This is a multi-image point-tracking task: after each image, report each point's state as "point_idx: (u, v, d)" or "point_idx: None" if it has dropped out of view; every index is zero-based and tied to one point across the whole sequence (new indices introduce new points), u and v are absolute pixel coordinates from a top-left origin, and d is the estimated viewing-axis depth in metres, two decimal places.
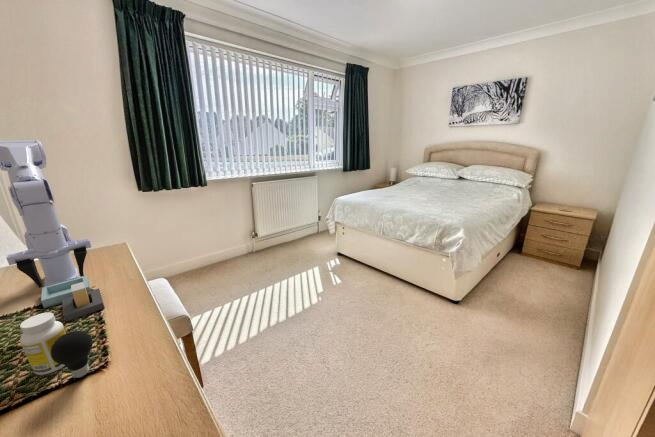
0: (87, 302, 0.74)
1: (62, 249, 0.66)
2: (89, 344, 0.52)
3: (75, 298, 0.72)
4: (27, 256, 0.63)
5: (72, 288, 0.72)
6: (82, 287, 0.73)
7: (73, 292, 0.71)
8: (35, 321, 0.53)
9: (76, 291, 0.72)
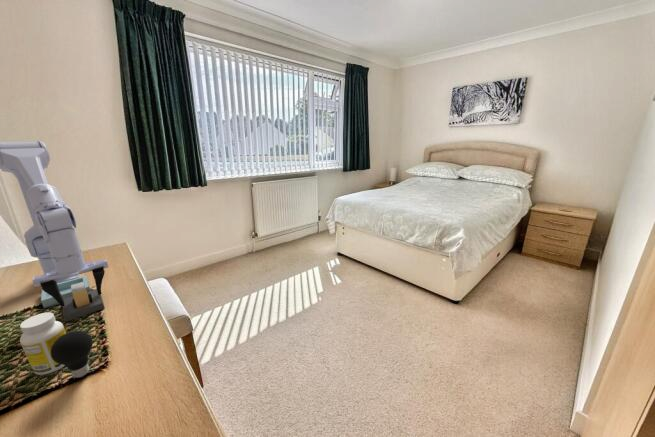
0: (87, 302, 0.74)
1: (82, 270, 0.71)
2: (89, 344, 0.52)
3: (75, 298, 0.72)
4: (51, 278, 0.68)
5: (72, 288, 0.72)
6: (82, 287, 0.73)
7: (73, 292, 0.71)
8: (35, 321, 0.53)
9: (76, 291, 0.72)
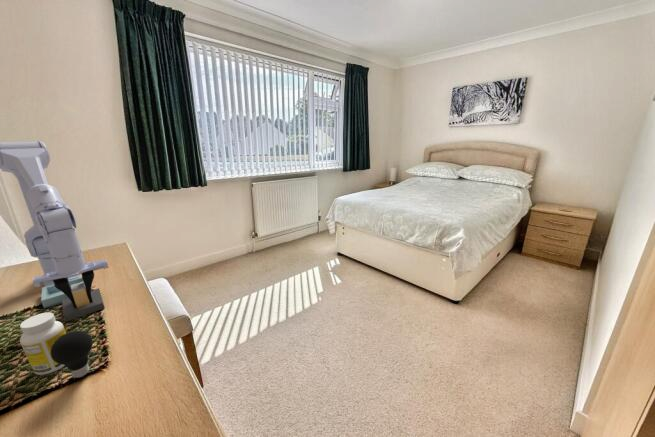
0: (87, 302, 0.74)
1: (82, 271, 0.71)
2: (89, 344, 0.52)
3: (75, 298, 0.72)
4: (51, 278, 0.68)
5: (72, 288, 0.72)
6: (82, 287, 0.73)
7: (73, 292, 0.71)
8: (35, 321, 0.53)
9: (76, 291, 0.72)
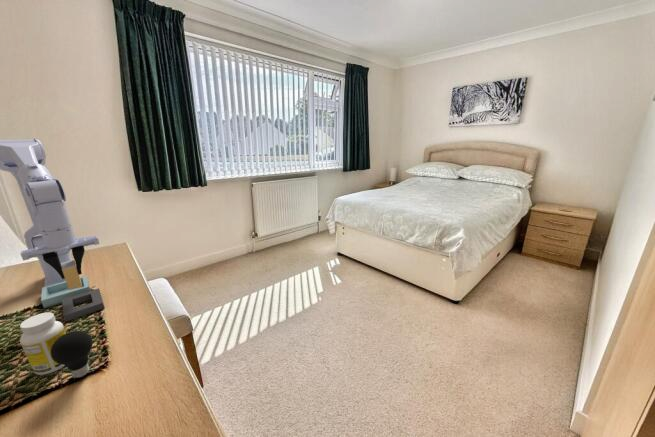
0: (78, 280, 0.72)
1: (72, 245, 0.70)
2: (89, 344, 0.52)
3: (65, 275, 0.70)
4: (40, 252, 0.67)
5: (62, 265, 0.71)
6: (73, 265, 0.71)
7: (63, 269, 0.70)
8: (35, 321, 0.53)
9: (66, 268, 0.70)
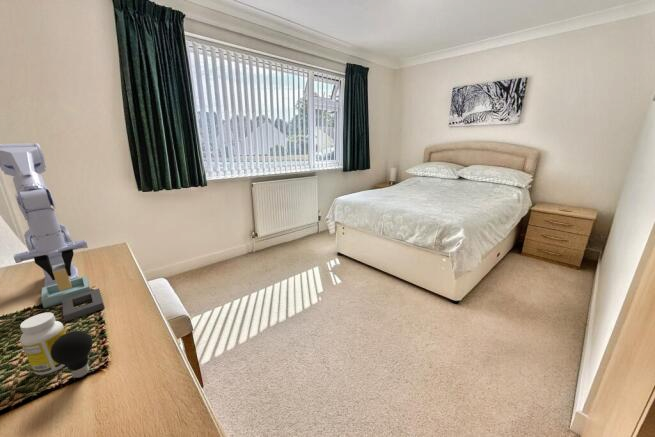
0: (67, 282, 0.78)
1: (62, 249, 0.76)
2: (89, 344, 0.52)
3: (56, 277, 0.76)
4: (31, 255, 0.72)
5: (53, 268, 0.77)
6: (63, 268, 0.77)
7: (54, 272, 0.76)
8: (35, 321, 0.53)
9: (57, 271, 0.76)
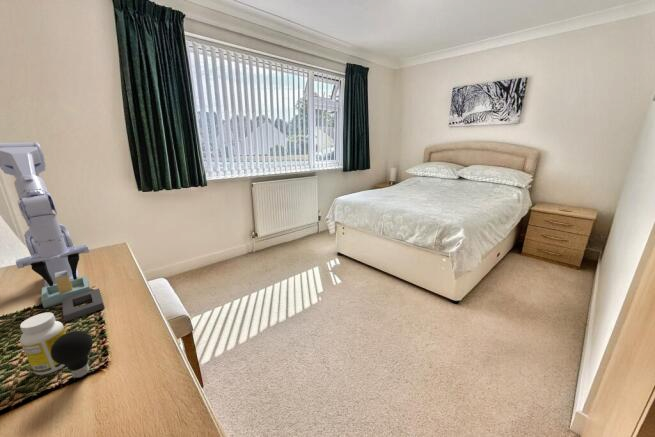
0: (70, 289, 0.79)
1: (63, 254, 0.76)
2: (89, 344, 0.52)
3: (58, 285, 0.77)
4: (33, 260, 0.73)
5: (55, 275, 0.78)
6: (65, 275, 0.78)
7: (56, 279, 0.76)
8: (35, 321, 0.53)
9: (59, 278, 0.77)
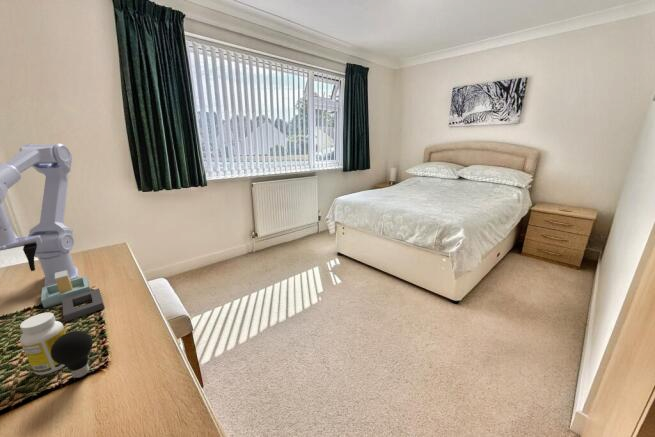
0: (70, 289, 0.79)
1: (11, 245, 0.70)
2: (89, 344, 0.52)
3: (58, 285, 0.77)
4: None
5: (55, 275, 0.78)
6: (65, 275, 0.78)
7: (56, 279, 0.76)
8: (35, 321, 0.53)
9: (59, 278, 0.77)
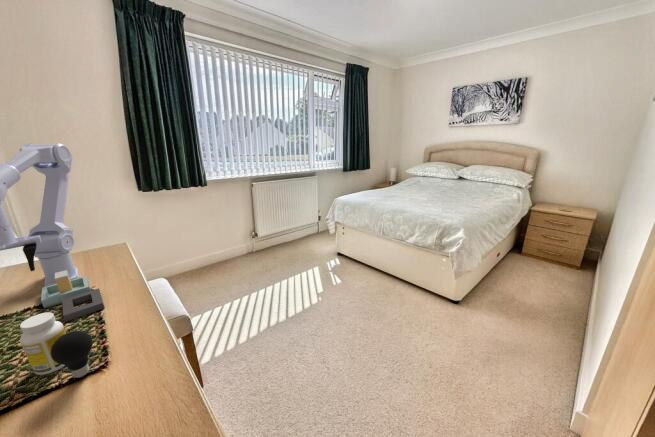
0: (70, 289, 0.79)
1: (10, 245, 0.70)
2: (89, 344, 0.52)
3: (58, 285, 0.77)
4: None
5: (55, 275, 0.78)
6: (65, 275, 0.78)
7: (56, 279, 0.76)
8: (35, 321, 0.53)
9: (59, 278, 0.77)
